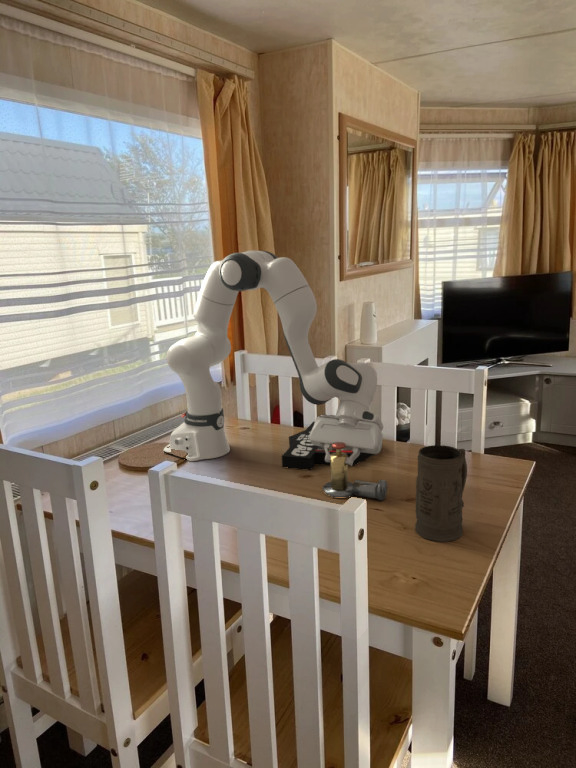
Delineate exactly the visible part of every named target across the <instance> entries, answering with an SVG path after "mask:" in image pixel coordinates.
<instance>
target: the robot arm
mask: <svg viewBox="0 0 576 768" xmlns="http://www.w3.org/2000/svg"><path fill="white" fill-rule="evenodd" d="M259 289H264V290H265V291H267V292H268V295H269V296H270V299H271V301H272V302H273V305H274V306H275V309H276V312H277V314H278V316H279V318H280V323H281V326H282V331H283V338H284V340H285V343H286V345H287V348H288V351H289V354H290V356H291V359H292V362H293V365H294V367H295V369H296V372H297V375H298V376H297V377H298V379H299V381H298V382H299V389H300V392H301V394H302V396H303V397H304V398H305V400H306V401H307V402H309V403H310V404H312V405H316V406H320V405H325V404H326V403H328V402H329V401H331V400H332V399H333V398H337V399H338V400H339V403H338V406H337V409H336V413H335V414H324V413H323V414H321V415H319V416H316V418H315V420H314V422H315V423H314V426H313V428H312V430H311V433H310V435H309V439H310V441H311V442H312V444H313V445H316V446H323V447H324V448H325V452H326V456H325V461H326V462H330V455H331V454H330V452H329V451H331V450H332V443H335V442H343V443H345V448H343V449H344V450H350V451H353V454H352V455H351V456H350V457H347V458H346V461H345V463H346V465H350V466H349V467H353V466H352V464H353V461H354V460H355V459H356V458H357V457H358V456H359V455H360V452H364V453H371V454H375V455H378V454H379V453H380V452H382V447H383V439H384V434H383V429H384V425H383V422H382V420H381V418H380V416H379V415H378V414H376V413H374V412H372V411H371V404H372V402H373V401H374V398H375V396H376V395H375V393H376V390H377V386H378V385H377V384H378V375H377V371H376V369H374V367H372V366H371V365H369V364H368V363H365V362H362V361H361V362H356V363H355V362H354V363H352V362H346V361H345V360H342V359H339V358H334V359H331V360H330V361H329V360H328V362H326V363H325V362H324V364H322V365H321V366H318V364H317V361H316V359H315V356H314V354H313V350H312V347H311V345H310V342H309V332H310V328H311V326H312V323H313V321H314V319H315V317H316V315H317V311H318V304H317V300H316V297H315V294H314V292H313V290H312V288H311V287H310V285H309V283H308V280H307V279H306V277H305V276H304V274H303V273H302V271H301V270H300V269H299V267H298V266H297V264H296V263H295V262H294V260H292V259H291V258H289V257H286V256H285V257H282V256H281V257H278V256H276V254H274V253H272V252H270V251H267V250H247V251H243V252H234V253H231V254H229V255H227V256H225V257H224V258H223V259H222V260H216V261H214V262H213V263H212V264H211V265H210V266H209V268H208V270H207V272H206V274H205V277H204V278H203V281H202V284H201V287H200V290H199V294H198V296H197V300H196V302H195V305H194V310H193V317H194V320H195V321H196V322H197V329H196V332H195V334H194V335H192V336H189V337H185V338H182V339H179V340H177V342H174V343H173V344H171V346H170V347H169V348H168V350H167V352H166V361H167V364H168V366H169V368H170V370H171V371H172V372H173V373H175V374H176V375H178V376H179V378H180V380H181V382H182V385H183V387H184V391H185V397H186V404H187V406H186V407H187V411H185V412H184V413H181V414H180V416H181V418H184V420H183V422H182V423H181V424H180V425H178V426H177V427H176V428H175V429H174V430H173V431H172V432H171V434H170V437H169V444H167V445H165V447H164V448H163V451H165V452H171V449H175V450H182V451H185V452H187V453H188V455H187V456H186V459H187V460H186V461H189V462H197V461H201V460H210V459H211V460H212V459H215V458H219V457H223V456H225V455H227V454H229V452H230V450H231V447H230V445H229V442H228V439H227V435H226V430H225V411H224V408H223V406H222V405H223V403H222V402H223V401H222V391H221V386H220V384H219V383H218V382H216V381H214V379H213V377H212V374H211V371H210V368H211V367H213V366H217V365H219V364H221V363H222V362H223V361H225V360H226V359H227V358H228V357H229V355H230V354H231V351H232V345H231V340H230V339H229V337H228V329H229V322H230V319H231V317H232V313H233V310H234V307H235V303H236V301H237V298H238V297H237V296H238V294H239V292H245V291H255V290H259ZM169 446H170V447H169ZM167 447H169V448H167Z"/></svg>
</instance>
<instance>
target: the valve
mask: <svg viewBox="0 0 576 768" xmlns="http://www.w3.org/2000/svg"><path fill="white" fill-rule="evenodd" d="M332 448H334V449H336V452H335V453H332V454H331V455H330V463H331V465H330V482H331V487H332V488H333V489H336V490H343V489H346V488H348V482H349V466H348V465H346V463H345V461H346V458H347V457H348V455H347V454H346V453H343V452H341V449H343V448H345V443H343V442H335V443H332Z"/></svg>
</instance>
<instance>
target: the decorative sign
mask: <svg viewBox="0 0 576 768" xmlns="http://www.w3.org/2000/svg"><path fill="white" fill-rule="evenodd" d="M314 423H315V420H314V421H312V422H311V423H310V424H309V426H308V427H307V428H306V429H304V430H303V431H300V432H298V433H295V434H292V435H290V436H288V445H289V447H288V449H287V450H286V451H285V452H284V453H283V454H282V455H281V465H282V467H288V468H287V469H290V468H297V469H296V470H302V469H308V470H307V471H311V470H312V469H313V468H314V466H315V464H319V465H320V466H321V464H322V466H331V463H330V462H326V461H325V456H326V452H325V448H324V447H323V446H316V445H313V444H312V442H311V441H310V439H309V435H310V433H311V430H312V428H313V426H314ZM329 452H330V454H332V453H335V452H336V449H334V448H332V450H331V451H329ZM341 452H343V453H346V454H347V455H348V457H350V456H351V455H352V454H353V451H350V450H344V449H341ZM374 455H376V454H371V453H364V452H360V455H359V456H358V457H357V458H356V459H355V460H354V461H353V464H352V466H350V465H348V467H354V466H356V465H358V464H359V462H360V463H362V462H363V461H365V460H367V459H369V458H371V457H372V456H374ZM357 463H358V464H357ZM323 464H324V465H323ZM319 465H318V466H319ZM282 467H281V468H282ZM312 467H313V468H312ZM311 468H312V469H311Z"/></svg>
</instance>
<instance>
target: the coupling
mask: <svg viewBox="0 0 576 768" xmlns="http://www.w3.org/2000/svg"><path fill="white" fill-rule="evenodd" d="M322 486H323V487H322V488H323V489H322V490H323V491H324V492H325V493H326V494H327V495H330V496H332V497H349V496H350V497H349V498H352V497H353V496H352V495H354V496H358V497H364V498H368V499H373V500H374V499H375V500H377V501H385V499H386V497H387V493H388V481H387V480H385V479H379V480H378V482H371V481H365V480H360V479H355V480H354V481H353V482H351V481H348V488H346V489H343V490H336V489H333V488H332V487H331V481H328V482H326V483H325V484H324V485H322ZM323 491H322V492H323Z"/></svg>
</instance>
